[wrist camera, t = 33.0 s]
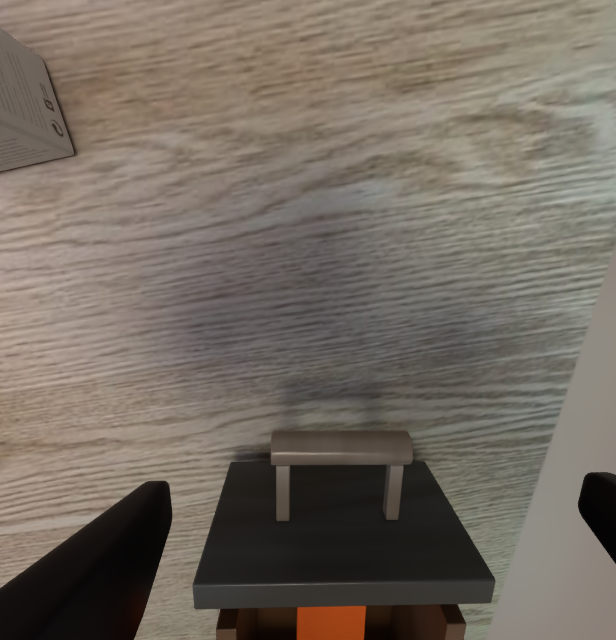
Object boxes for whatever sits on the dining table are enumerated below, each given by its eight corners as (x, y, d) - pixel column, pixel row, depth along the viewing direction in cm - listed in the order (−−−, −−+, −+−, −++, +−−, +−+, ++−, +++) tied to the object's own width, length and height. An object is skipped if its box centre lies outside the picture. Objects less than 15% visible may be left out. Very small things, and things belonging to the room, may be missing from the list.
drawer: (227, 392, 17) (183, 484, 10) (433, 393, 17) (516, 482, 11) (237, 636, 21) (209, 815, 14) (404, 632, 21) (452, 804, 15)
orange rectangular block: (361, 495, 17) (372, 535, 15) (355, 592, 19) (363, 643, 17) (297, 496, 17) (297, 536, 15) (296, 594, 19) (296, 644, 16)
